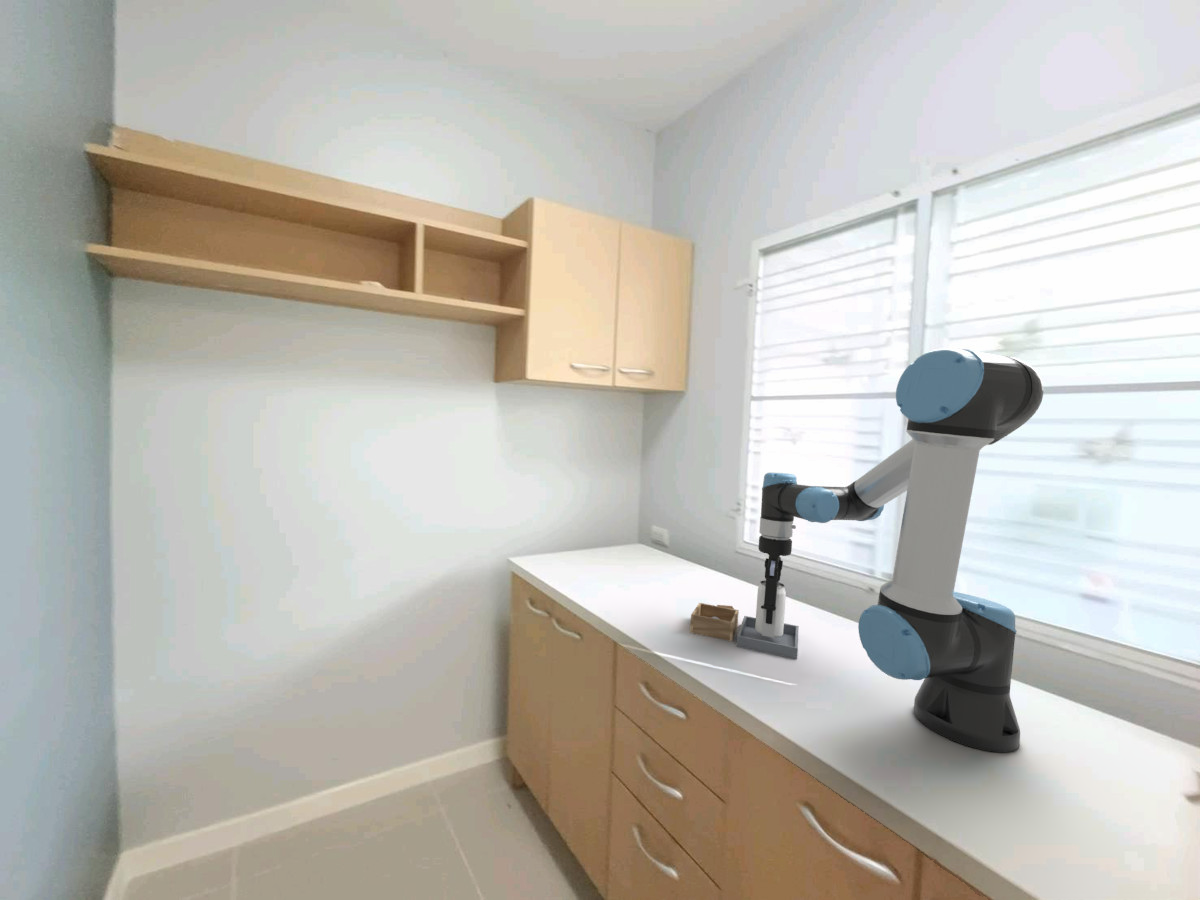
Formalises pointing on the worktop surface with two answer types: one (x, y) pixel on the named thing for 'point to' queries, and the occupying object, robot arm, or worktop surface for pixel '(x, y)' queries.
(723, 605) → the walnut block
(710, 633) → the oak bin
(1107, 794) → the worktop surface
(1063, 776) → the worktop surface
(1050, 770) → the worktop surface
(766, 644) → the grey tray
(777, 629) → the can
